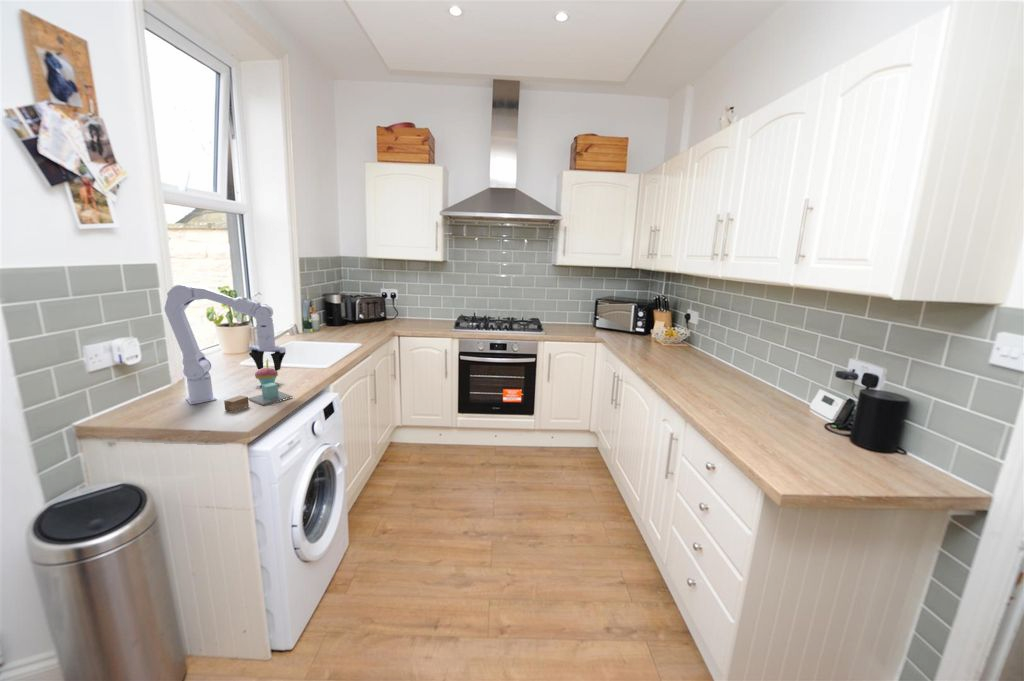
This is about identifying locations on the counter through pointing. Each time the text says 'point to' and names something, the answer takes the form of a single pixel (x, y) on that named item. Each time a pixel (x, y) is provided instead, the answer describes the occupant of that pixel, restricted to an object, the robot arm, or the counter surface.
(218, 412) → the counter surface
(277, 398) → the slate coaster
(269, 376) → the cupcake
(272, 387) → the teal block
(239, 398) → the walnut block
